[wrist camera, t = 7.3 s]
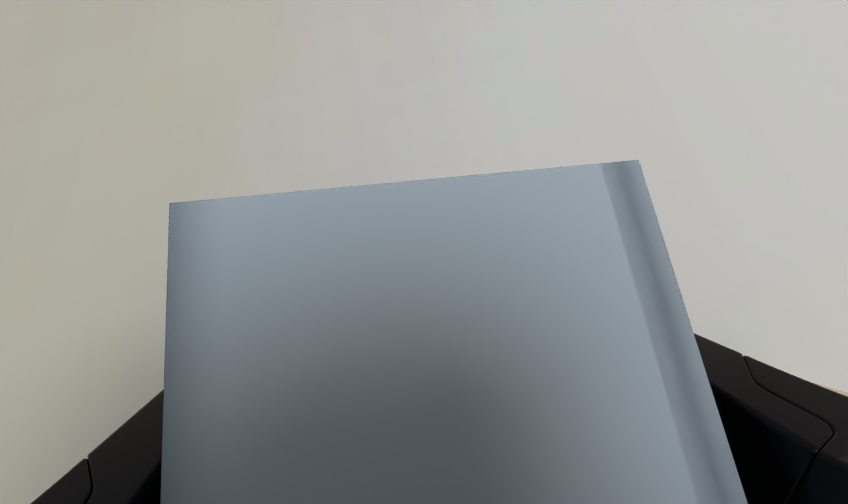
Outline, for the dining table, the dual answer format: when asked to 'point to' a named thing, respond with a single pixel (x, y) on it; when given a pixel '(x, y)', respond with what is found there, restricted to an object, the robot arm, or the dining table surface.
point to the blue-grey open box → (436, 348)
